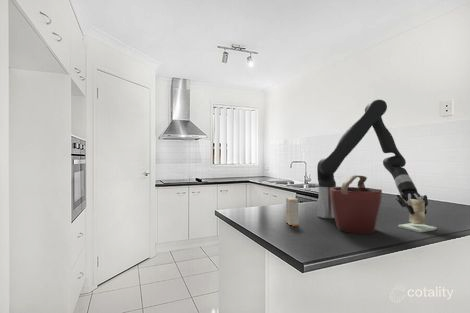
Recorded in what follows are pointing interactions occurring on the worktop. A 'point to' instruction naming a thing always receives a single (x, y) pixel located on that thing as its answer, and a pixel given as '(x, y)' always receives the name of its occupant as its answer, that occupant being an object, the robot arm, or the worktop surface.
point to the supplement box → (292, 211)
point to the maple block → (417, 211)
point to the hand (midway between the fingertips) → (419, 213)
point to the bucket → (356, 206)
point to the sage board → (417, 227)
